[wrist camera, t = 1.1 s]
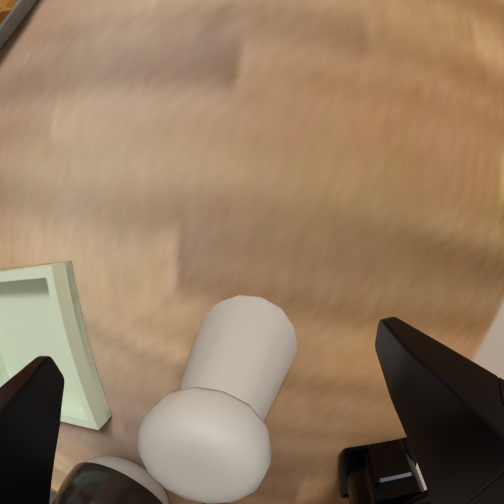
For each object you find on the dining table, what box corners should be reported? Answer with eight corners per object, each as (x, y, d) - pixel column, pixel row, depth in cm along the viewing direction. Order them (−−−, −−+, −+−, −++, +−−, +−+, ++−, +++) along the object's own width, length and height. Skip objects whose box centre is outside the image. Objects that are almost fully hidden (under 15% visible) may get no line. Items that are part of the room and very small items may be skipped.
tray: (111, 415, 23) (98, 430, 21) (18, 394, 25) (4, 403, 23) (71, 260, 22) (51, 265, 19) (-17, 272, 24) (-33, 276, 21)
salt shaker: (301, 364, 20) (299, 527, 7) (218, 372, 21) (143, 515, 8) (290, 279, 20) (278, 395, 7) (200, 291, 20) (80, 393, 8)
